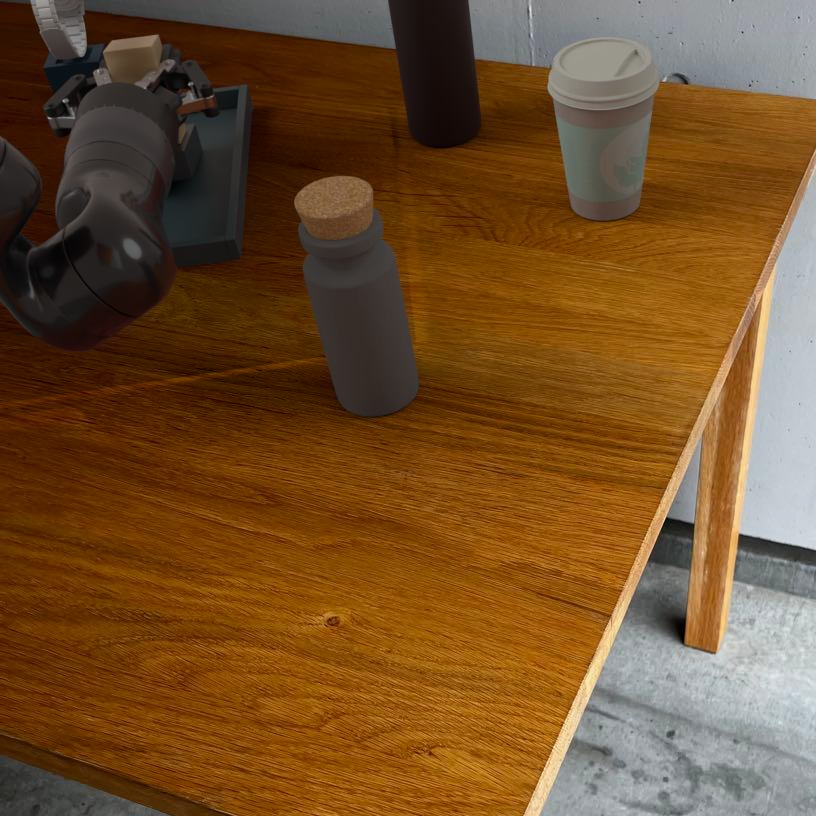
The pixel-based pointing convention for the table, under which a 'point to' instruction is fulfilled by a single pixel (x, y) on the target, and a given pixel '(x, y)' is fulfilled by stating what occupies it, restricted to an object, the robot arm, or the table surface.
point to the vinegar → (437, 69)
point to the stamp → (129, 66)
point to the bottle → (356, 297)
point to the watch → (66, 41)
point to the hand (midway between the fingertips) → (144, 59)
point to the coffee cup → (604, 122)
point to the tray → (213, 185)
